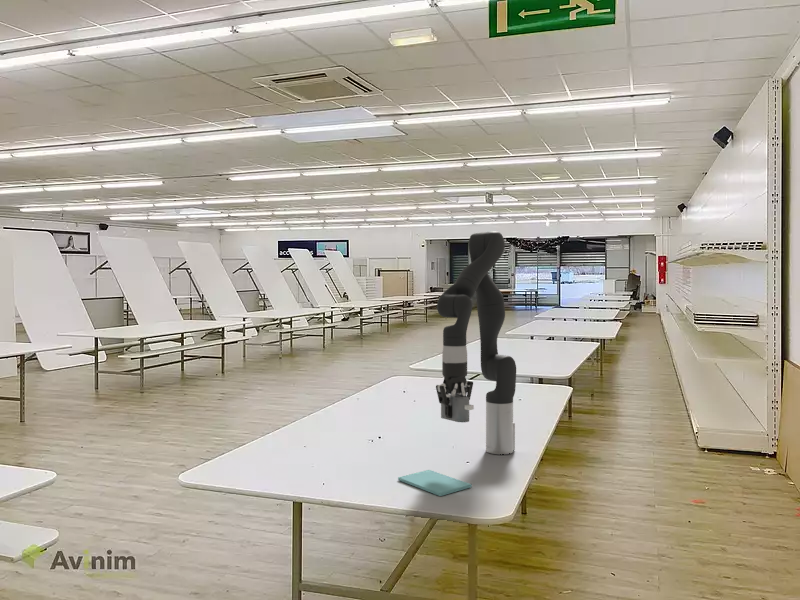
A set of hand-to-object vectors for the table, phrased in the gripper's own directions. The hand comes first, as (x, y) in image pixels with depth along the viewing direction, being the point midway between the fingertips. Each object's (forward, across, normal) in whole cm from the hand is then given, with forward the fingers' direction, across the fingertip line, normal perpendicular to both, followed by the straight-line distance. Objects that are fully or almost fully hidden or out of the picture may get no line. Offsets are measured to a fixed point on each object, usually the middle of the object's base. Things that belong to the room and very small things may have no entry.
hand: (454, 416), depth 188 cm
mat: (+17, +12, +4) cm, 21 cm away
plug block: (+1, 0, 0) cm, 1 cm away
